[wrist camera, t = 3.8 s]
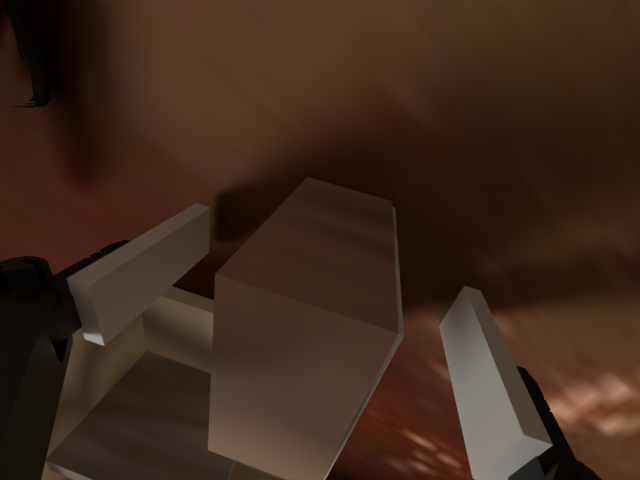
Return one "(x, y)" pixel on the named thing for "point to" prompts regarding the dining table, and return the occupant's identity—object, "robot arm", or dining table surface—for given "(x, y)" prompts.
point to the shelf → (143, 401)
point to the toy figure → (30, 50)
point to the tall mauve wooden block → (304, 330)
